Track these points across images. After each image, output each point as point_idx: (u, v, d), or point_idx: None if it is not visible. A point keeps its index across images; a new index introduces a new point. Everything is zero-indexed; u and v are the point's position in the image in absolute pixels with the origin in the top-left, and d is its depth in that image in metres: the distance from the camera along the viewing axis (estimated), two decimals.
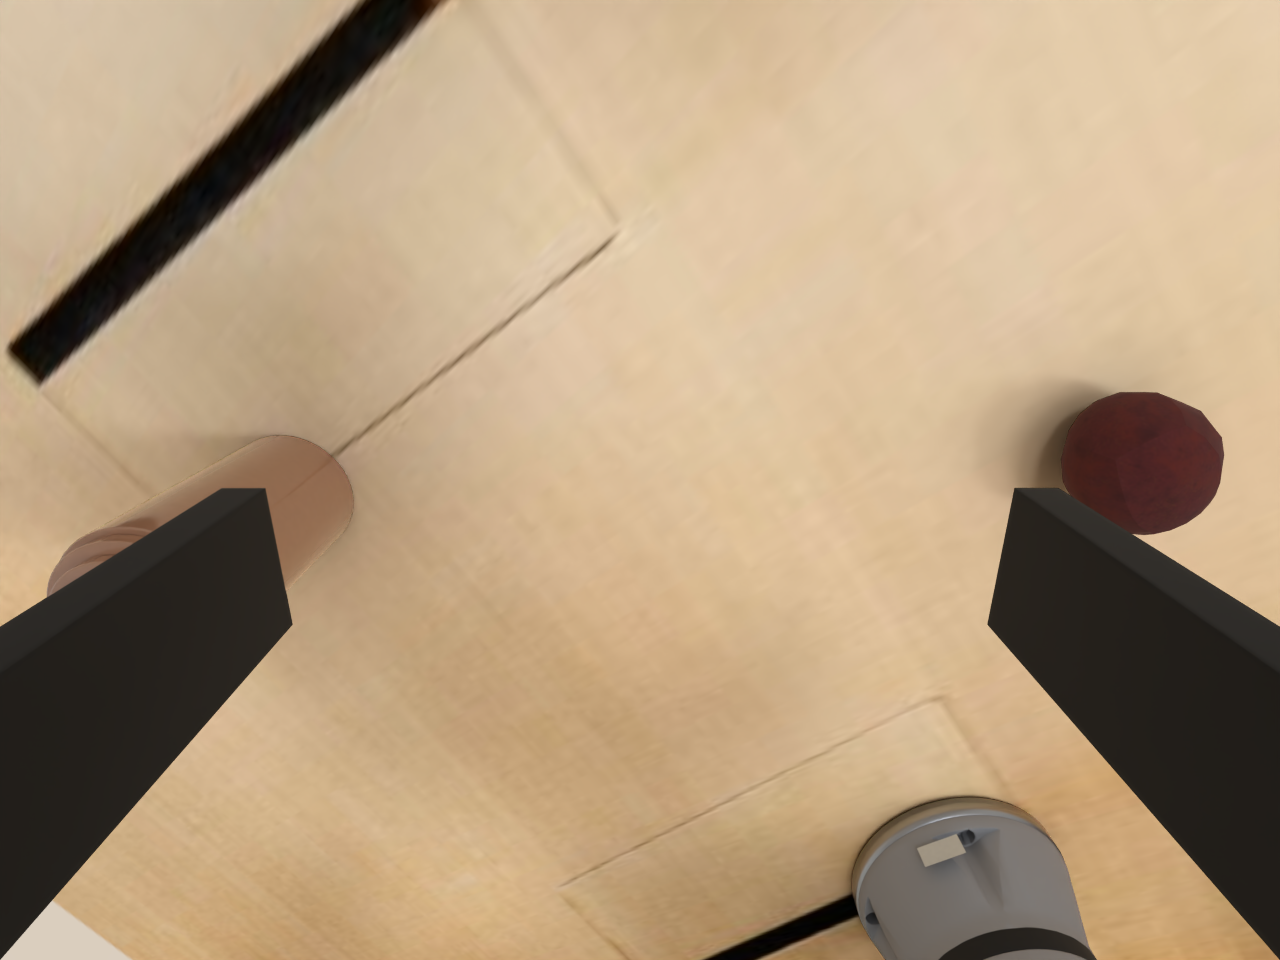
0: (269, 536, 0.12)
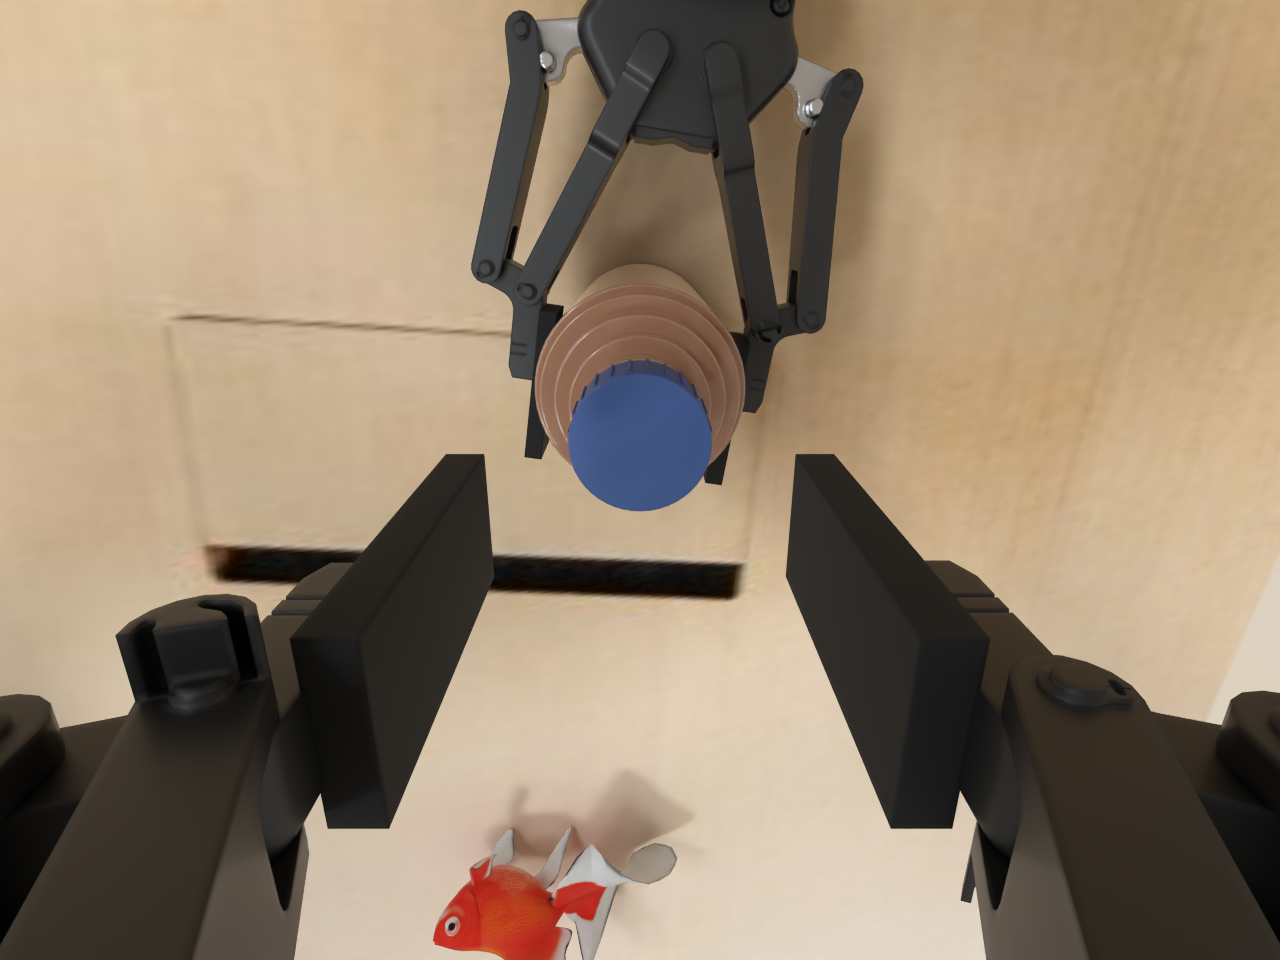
0: (485, 497, 0.14)
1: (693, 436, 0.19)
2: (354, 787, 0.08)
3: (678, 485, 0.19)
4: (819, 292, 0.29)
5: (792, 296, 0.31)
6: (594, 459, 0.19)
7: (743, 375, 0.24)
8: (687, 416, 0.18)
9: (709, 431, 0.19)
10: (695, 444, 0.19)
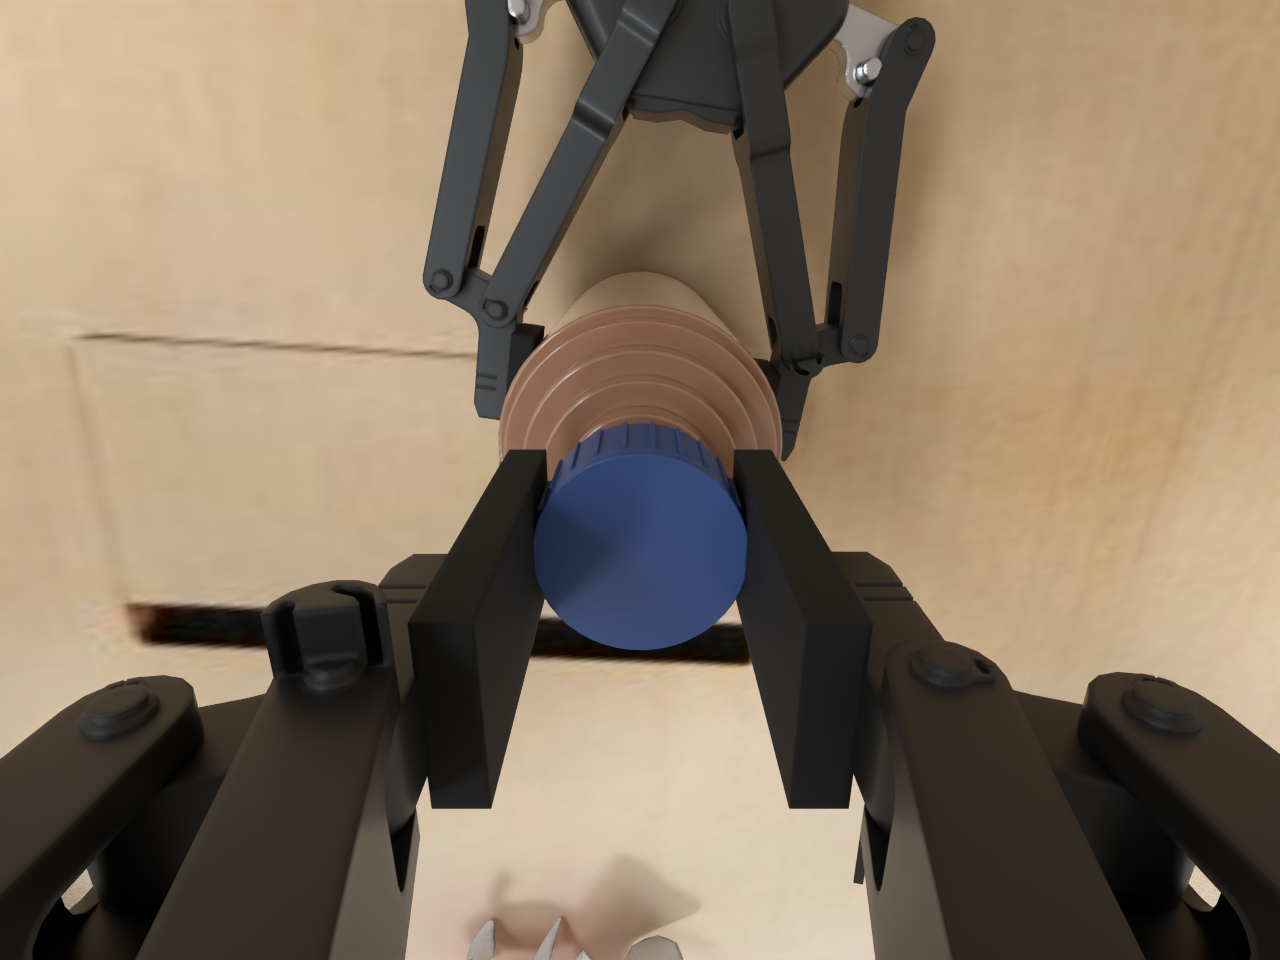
0: None
1: (721, 545, 0.12)
2: (460, 768, 0.09)
3: (698, 614, 0.13)
4: (870, 311, 0.22)
5: (833, 314, 0.24)
6: (572, 577, 0.12)
7: (780, 427, 0.18)
8: (713, 516, 0.12)
9: (746, 538, 0.12)
10: (724, 556, 0.12)
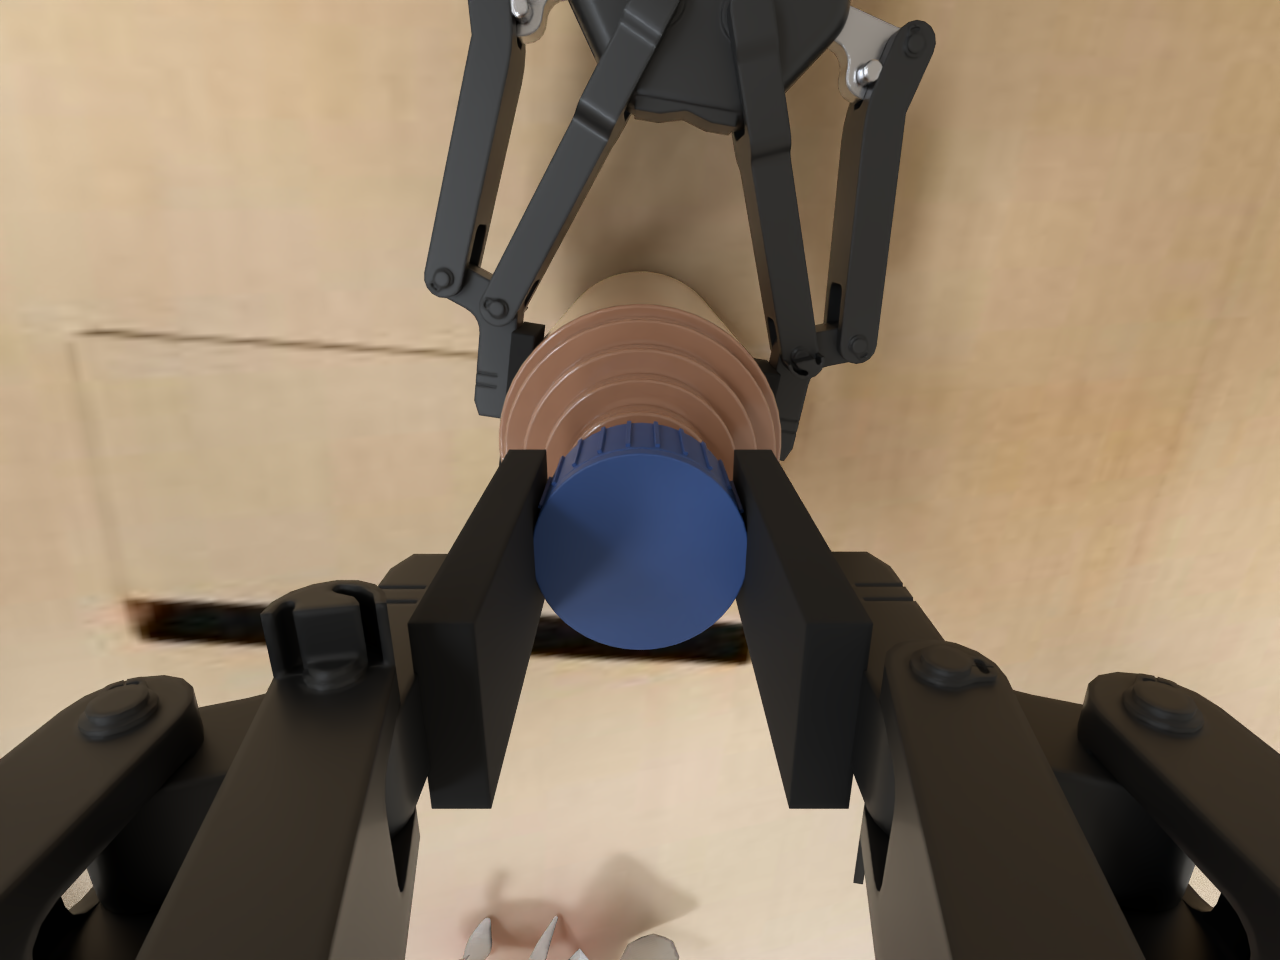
0: None
1: (608, 486, 0.12)
2: (459, 768, 0.09)
3: (692, 489, 0.12)
4: (869, 312, 0.23)
5: (832, 315, 0.24)
6: (676, 612, 0.13)
7: (779, 427, 0.18)
8: (579, 502, 0.12)
9: (594, 465, 0.12)
10: (620, 480, 0.12)
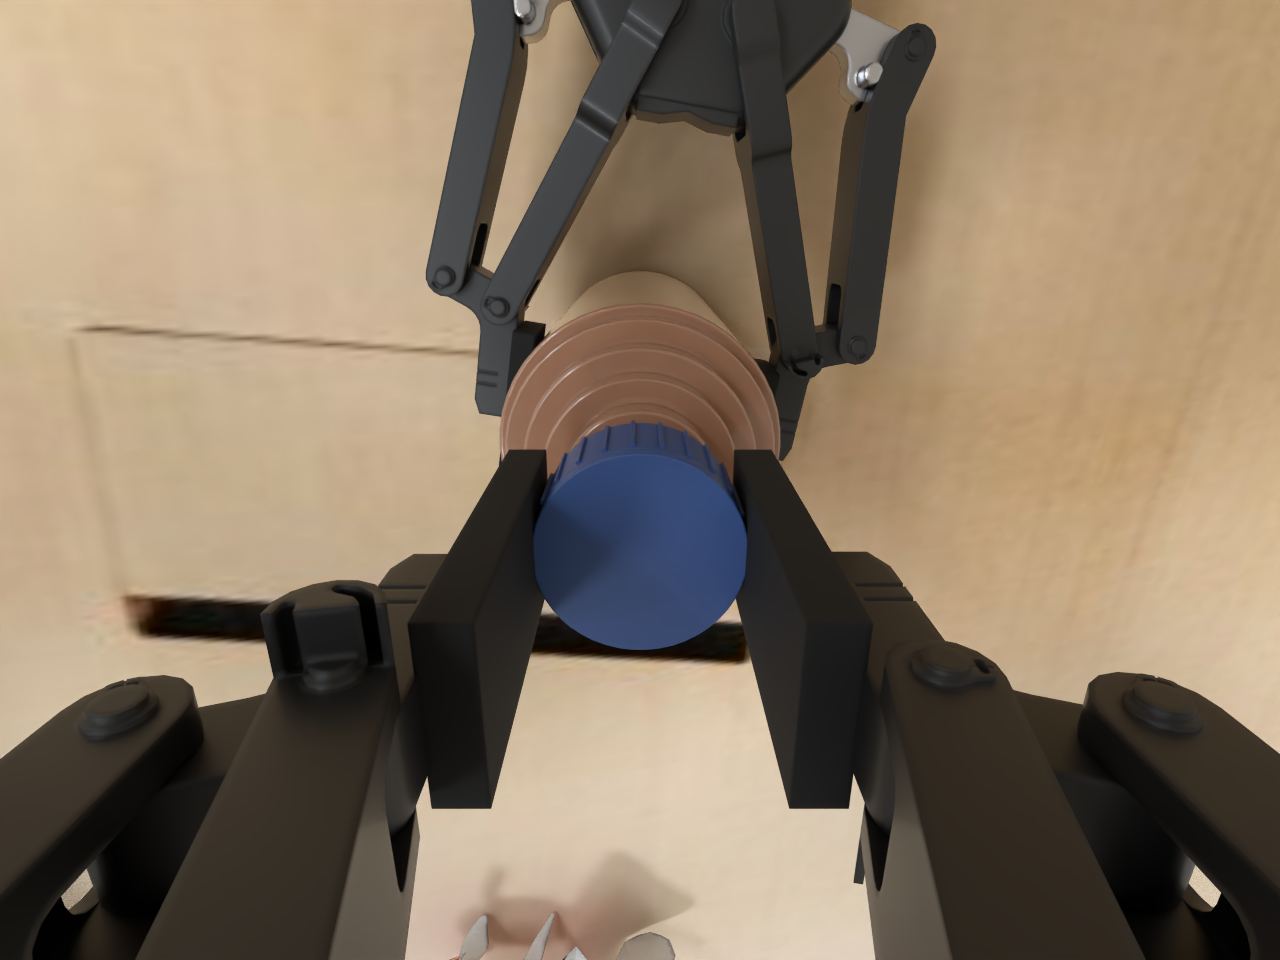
0: None
1: (574, 598, 0.13)
2: (460, 768, 0.09)
3: (556, 526, 0.12)
4: (869, 313, 0.23)
5: (831, 316, 0.25)
6: (694, 511, 0.12)
7: (778, 427, 0.18)
8: (596, 618, 0.13)
9: (557, 612, 0.13)
10: (565, 589, 0.13)
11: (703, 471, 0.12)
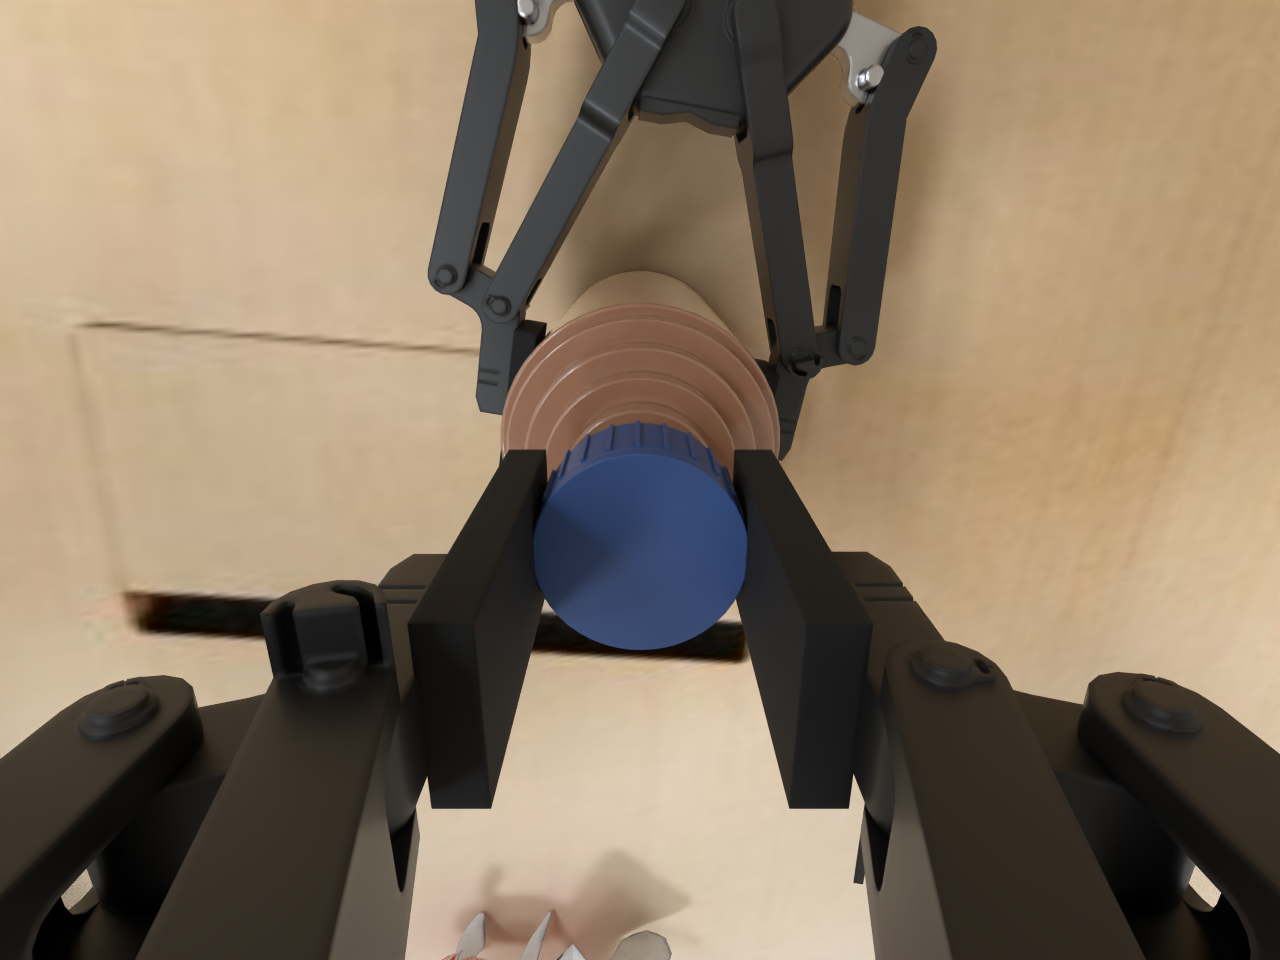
0: None
1: (699, 605, 0.13)
2: (460, 768, 0.09)
3: (625, 632, 0.13)
4: (868, 314, 0.23)
5: (831, 317, 0.25)
6: (578, 519, 0.12)
7: (778, 426, 0.18)
8: (718, 582, 0.13)
9: (718, 617, 0.13)
10: (691, 614, 0.13)
11: (537, 520, 0.12)
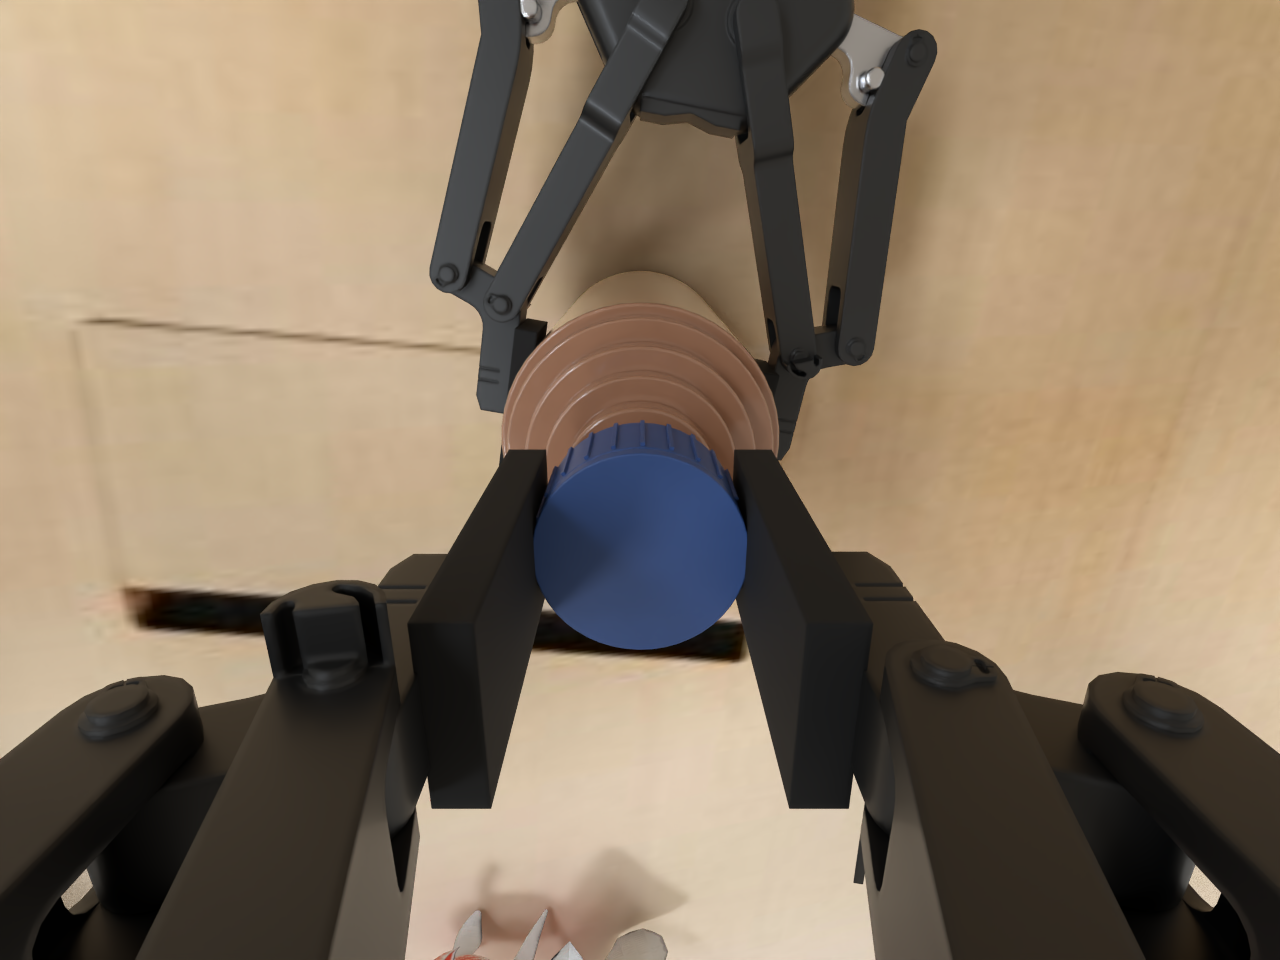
0: None
1: (682, 491, 0.12)
2: (459, 768, 0.09)
3: (728, 553, 0.12)
4: (867, 315, 0.23)
5: (831, 317, 0.25)
6: (614, 616, 0.13)
7: (777, 426, 0.19)
8: (651, 479, 0.12)
9: (693, 468, 0.12)
10: (695, 496, 0.12)
11: None
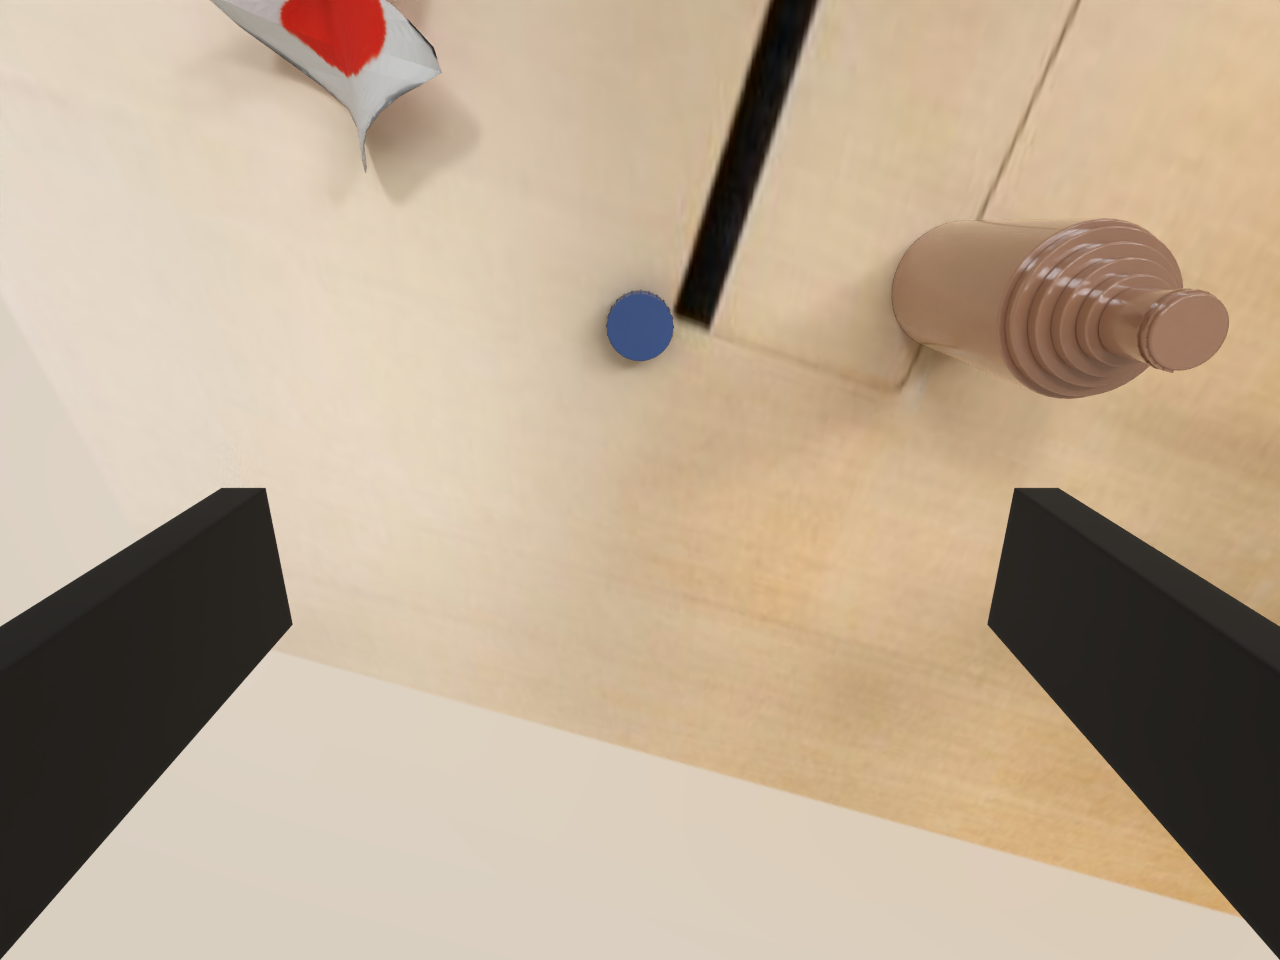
0: (269, 536, 0.12)
1: (652, 305, 0.40)
2: None
3: (666, 326, 0.41)
4: None
5: None
6: (631, 348, 0.41)
7: (1061, 397, 0.31)
8: (643, 302, 0.40)
9: (655, 298, 0.40)
10: (656, 307, 0.40)
11: (635, 360, 0.41)
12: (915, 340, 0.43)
